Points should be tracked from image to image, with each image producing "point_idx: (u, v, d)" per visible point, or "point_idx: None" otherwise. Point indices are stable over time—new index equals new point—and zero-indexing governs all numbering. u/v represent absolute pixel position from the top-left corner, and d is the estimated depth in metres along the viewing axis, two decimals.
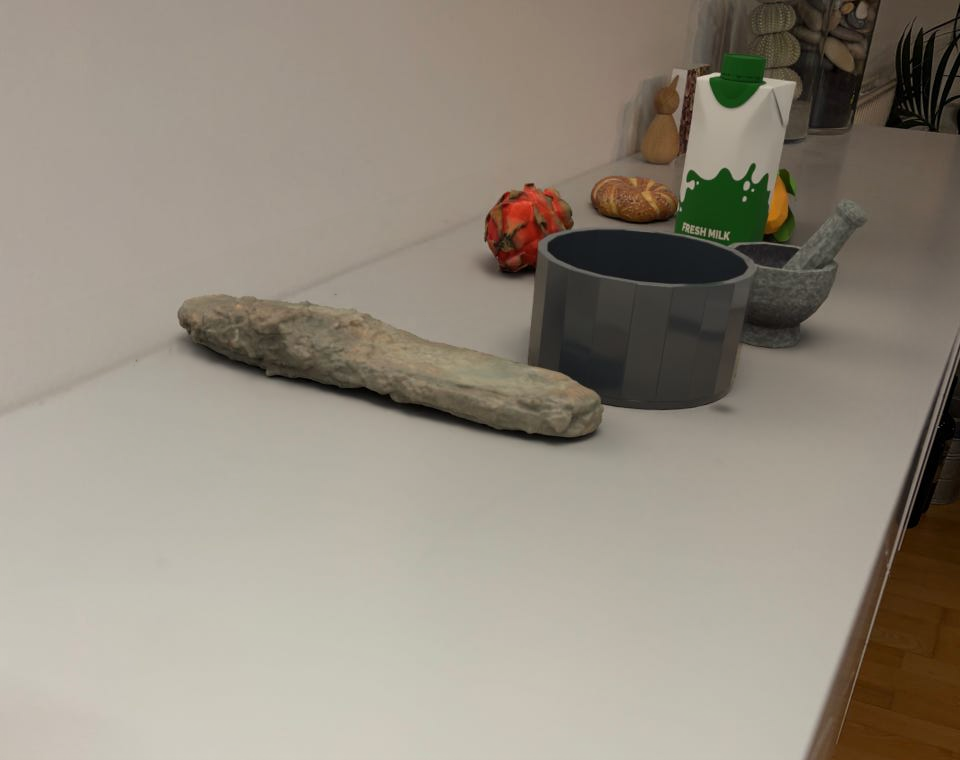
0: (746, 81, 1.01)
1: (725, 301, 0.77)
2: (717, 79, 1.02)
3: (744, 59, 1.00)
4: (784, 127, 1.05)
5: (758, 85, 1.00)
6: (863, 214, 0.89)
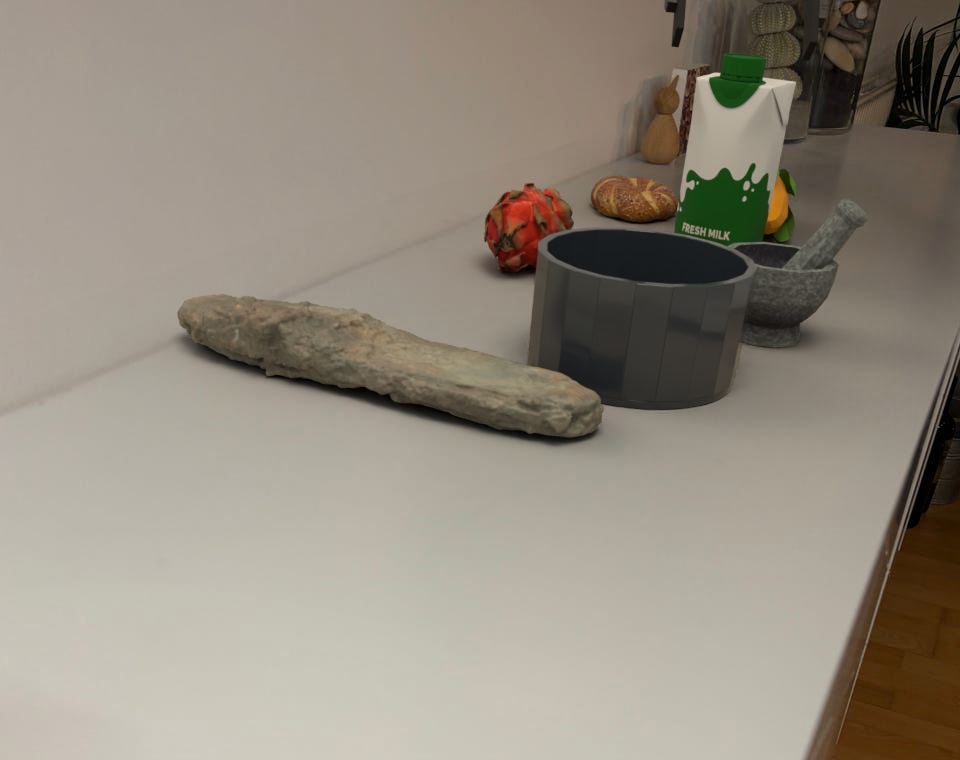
0: (746, 81, 1.01)
1: (725, 301, 0.77)
2: (717, 79, 1.02)
3: (744, 59, 1.00)
4: (784, 127, 1.05)
5: (758, 85, 1.00)
6: (863, 214, 0.89)
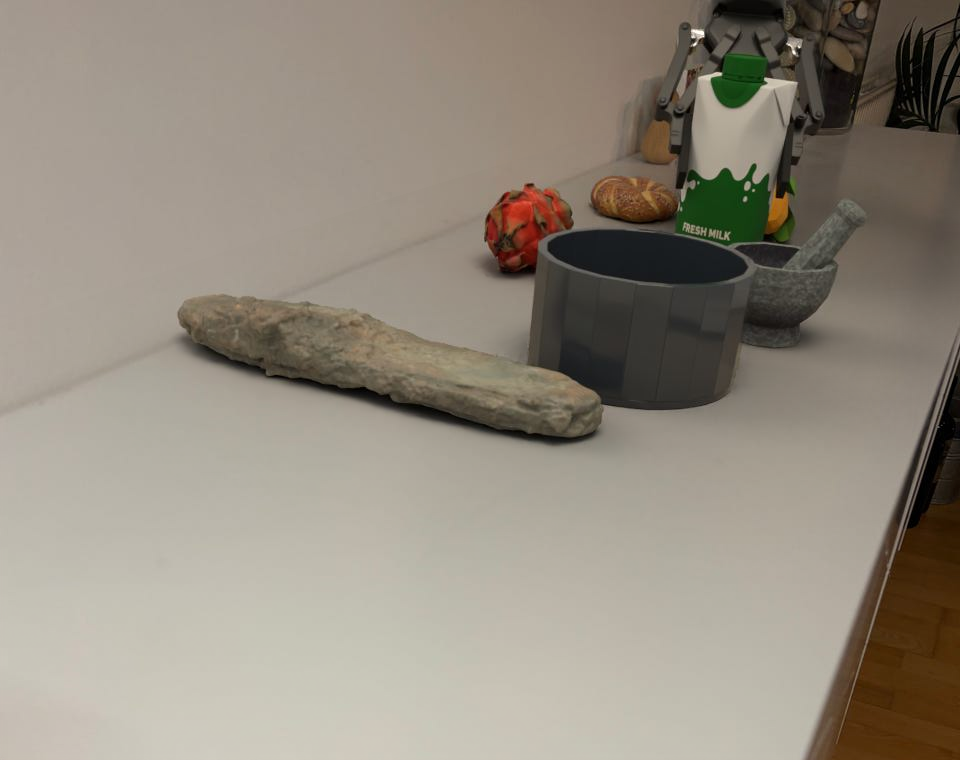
0: (747, 81, 1.01)
1: (725, 301, 0.77)
2: (718, 79, 1.02)
3: (746, 59, 1.00)
4: (785, 127, 1.05)
5: (759, 85, 1.00)
6: (863, 214, 0.89)
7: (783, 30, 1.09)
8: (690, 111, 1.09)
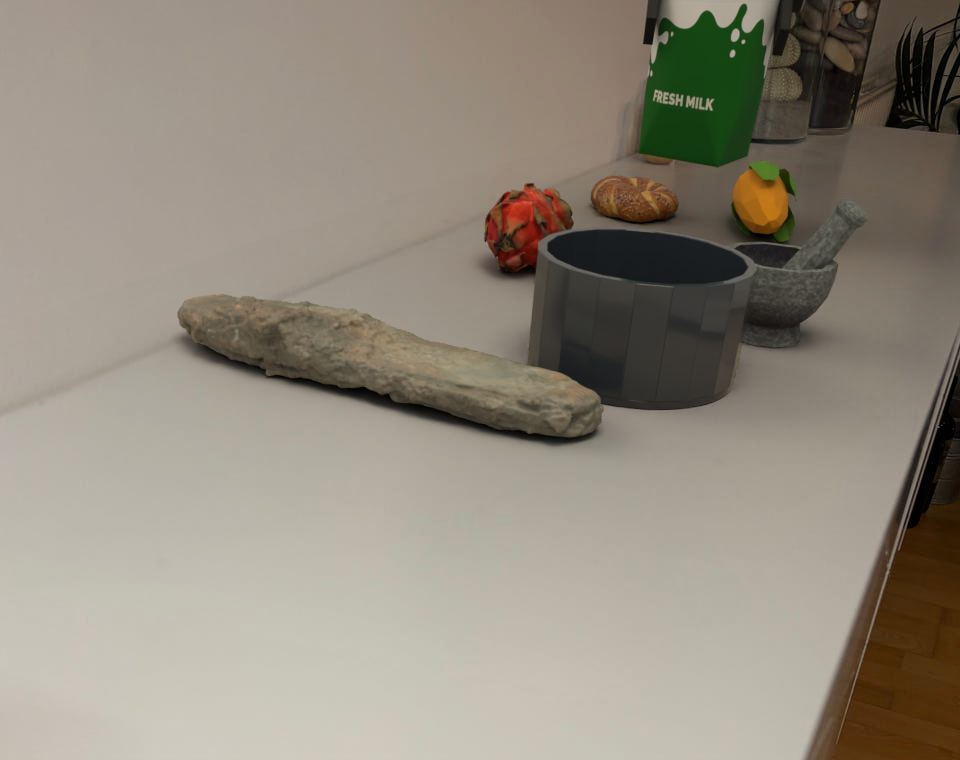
0: None
1: (725, 301, 0.77)
2: None
3: None
4: None
5: None
6: (863, 214, 0.89)
7: None
8: None
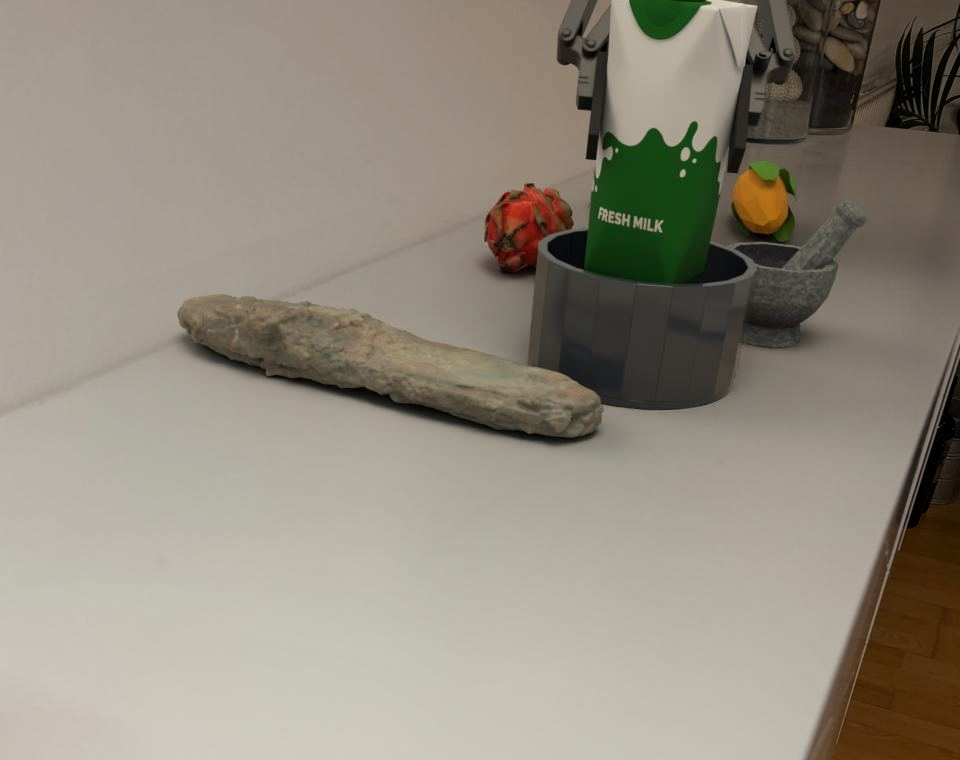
0: None
1: (725, 301, 0.77)
2: None
3: None
4: (739, 70, 0.73)
5: (698, 5, 0.68)
6: (863, 214, 0.89)
7: None
8: (607, 50, 0.77)
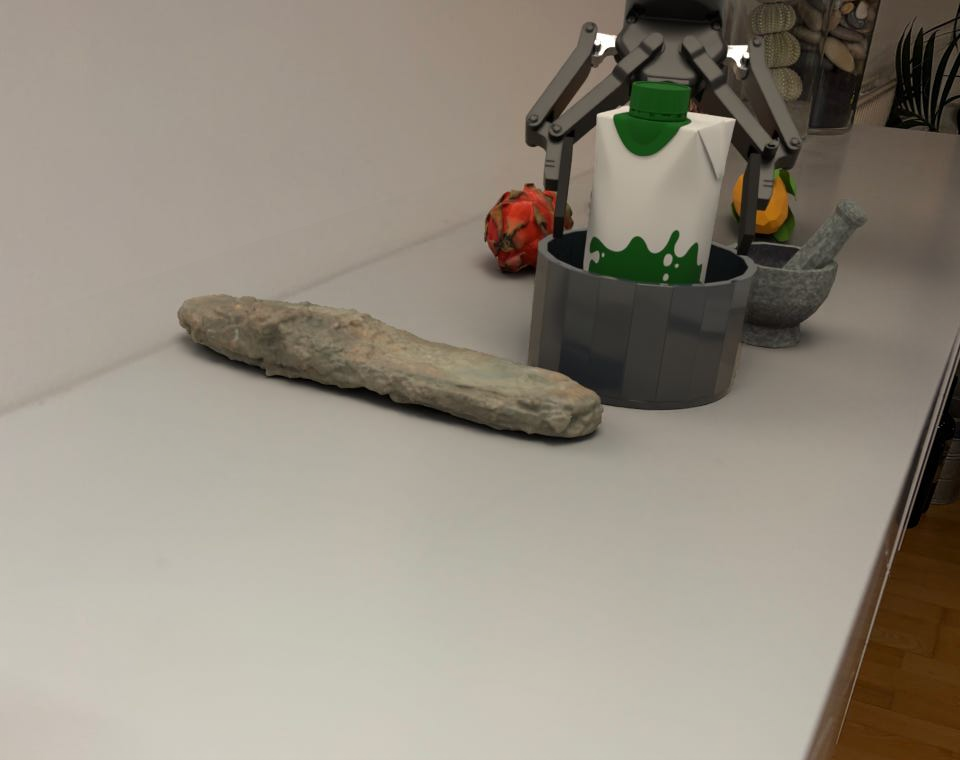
0: (662, 120, 0.73)
1: (725, 301, 0.77)
2: (624, 117, 0.74)
3: (659, 90, 0.72)
4: (719, 180, 0.77)
5: (678, 126, 0.72)
6: (863, 214, 0.89)
7: (721, 40, 0.80)
8: (575, 137, 0.81)
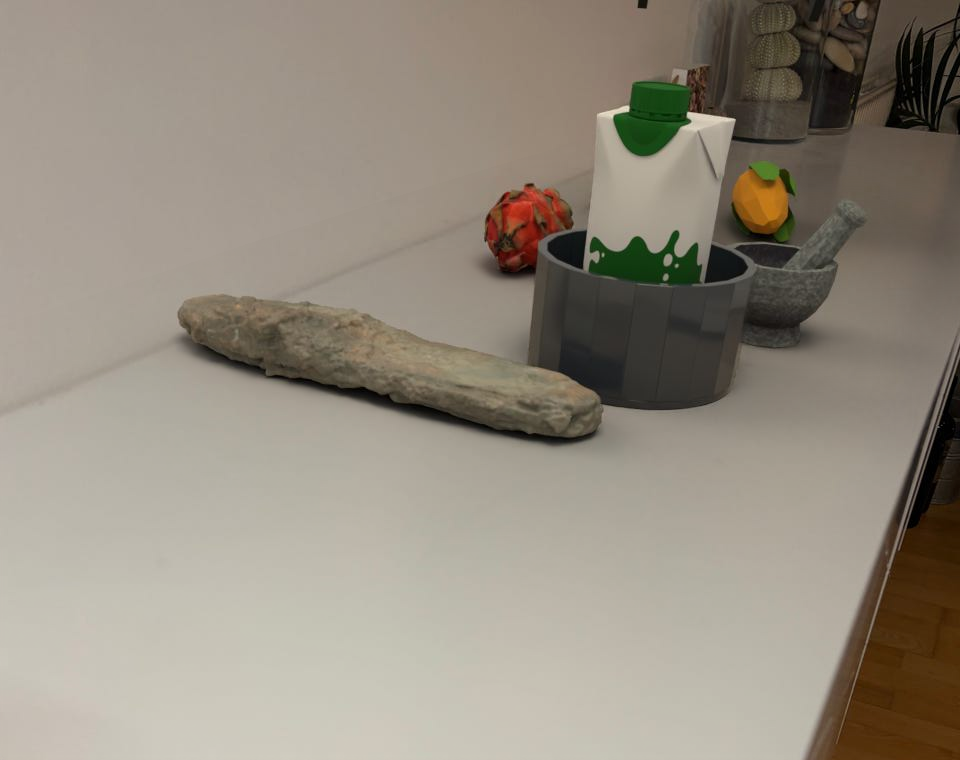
0: (662, 120, 0.73)
1: (725, 301, 0.77)
2: (624, 117, 0.74)
3: (659, 90, 0.72)
4: (719, 180, 0.77)
5: (678, 126, 0.72)
6: (863, 214, 0.89)
7: None
8: None
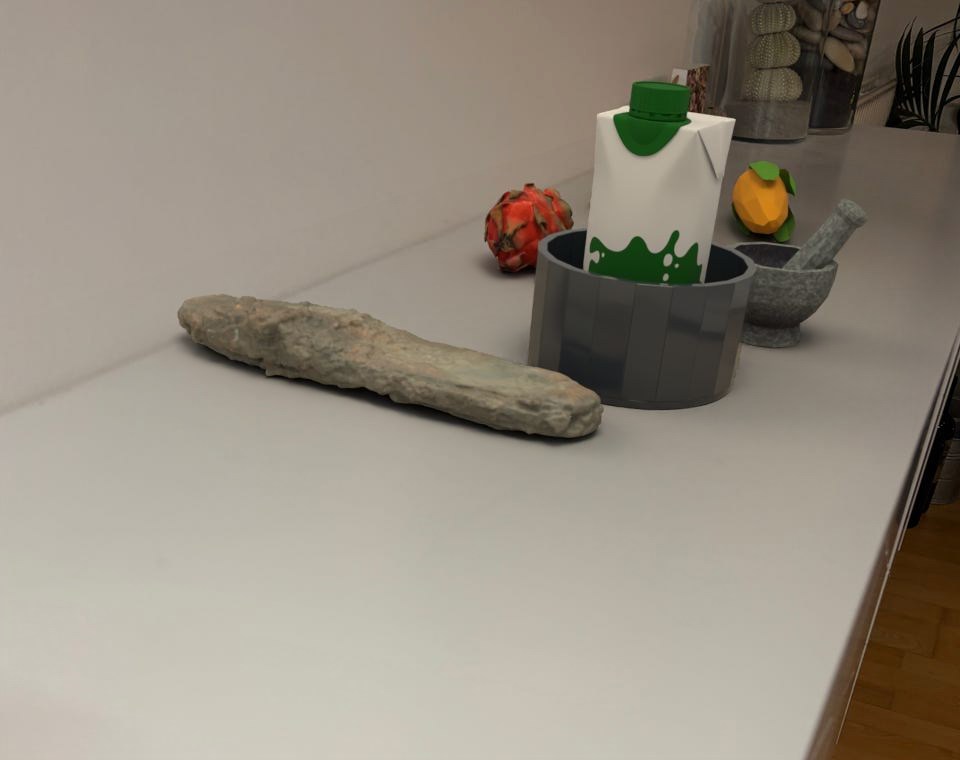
0: (662, 120, 0.73)
1: (725, 301, 0.77)
2: (624, 117, 0.74)
3: (659, 90, 0.72)
4: (719, 180, 0.77)
5: (678, 126, 0.72)
6: (863, 214, 0.89)
7: None
8: None
